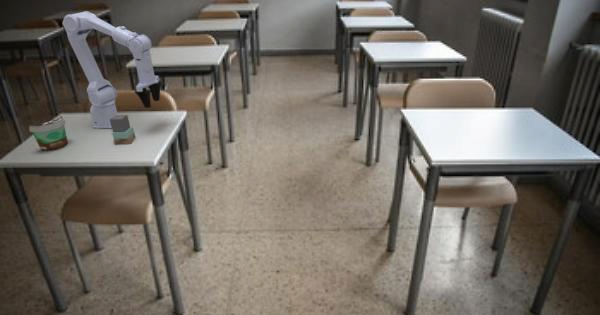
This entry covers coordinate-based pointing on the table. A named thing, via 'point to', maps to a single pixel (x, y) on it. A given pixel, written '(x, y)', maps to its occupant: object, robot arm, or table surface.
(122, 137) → the teal slab
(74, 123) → the table surface
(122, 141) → the walnut slab
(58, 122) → the food container
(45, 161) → the table surface
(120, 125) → the charcoal block
